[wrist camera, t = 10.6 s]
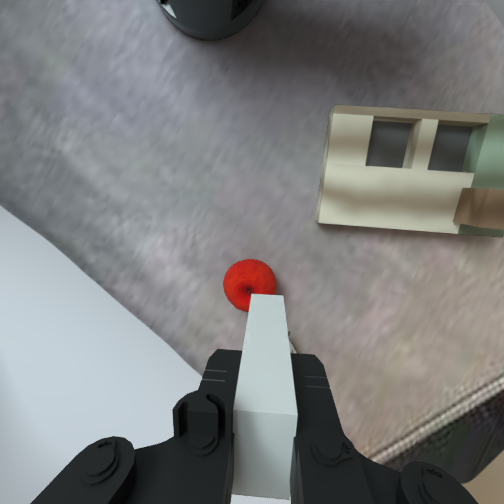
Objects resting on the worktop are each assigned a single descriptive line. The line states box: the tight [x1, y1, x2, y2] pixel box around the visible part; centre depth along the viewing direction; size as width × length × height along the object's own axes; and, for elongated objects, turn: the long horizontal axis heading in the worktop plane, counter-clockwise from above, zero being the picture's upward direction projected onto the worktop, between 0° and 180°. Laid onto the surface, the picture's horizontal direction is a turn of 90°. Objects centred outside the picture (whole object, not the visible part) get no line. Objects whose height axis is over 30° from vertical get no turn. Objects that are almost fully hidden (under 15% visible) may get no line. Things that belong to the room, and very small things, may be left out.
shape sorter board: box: [315, 105, 504, 237], centre depth 36 cm, size 15×25×3 cm, turn 86°
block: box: [453, 188, 504, 229], centre depth 33 cm, size 4×4×4 cm
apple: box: [223, 259, 276, 312], centre depth 39 cm, size 8×8×7 cm
